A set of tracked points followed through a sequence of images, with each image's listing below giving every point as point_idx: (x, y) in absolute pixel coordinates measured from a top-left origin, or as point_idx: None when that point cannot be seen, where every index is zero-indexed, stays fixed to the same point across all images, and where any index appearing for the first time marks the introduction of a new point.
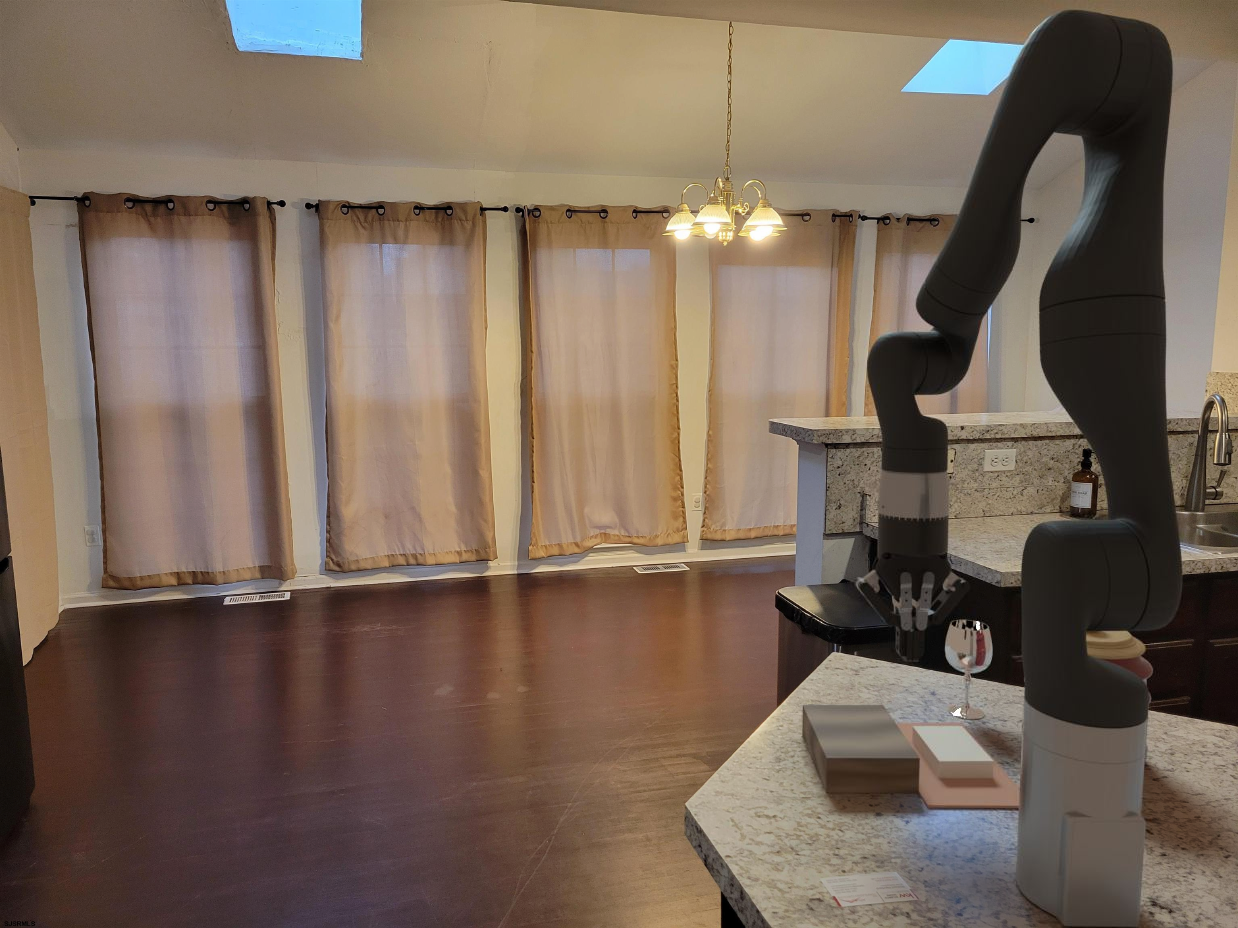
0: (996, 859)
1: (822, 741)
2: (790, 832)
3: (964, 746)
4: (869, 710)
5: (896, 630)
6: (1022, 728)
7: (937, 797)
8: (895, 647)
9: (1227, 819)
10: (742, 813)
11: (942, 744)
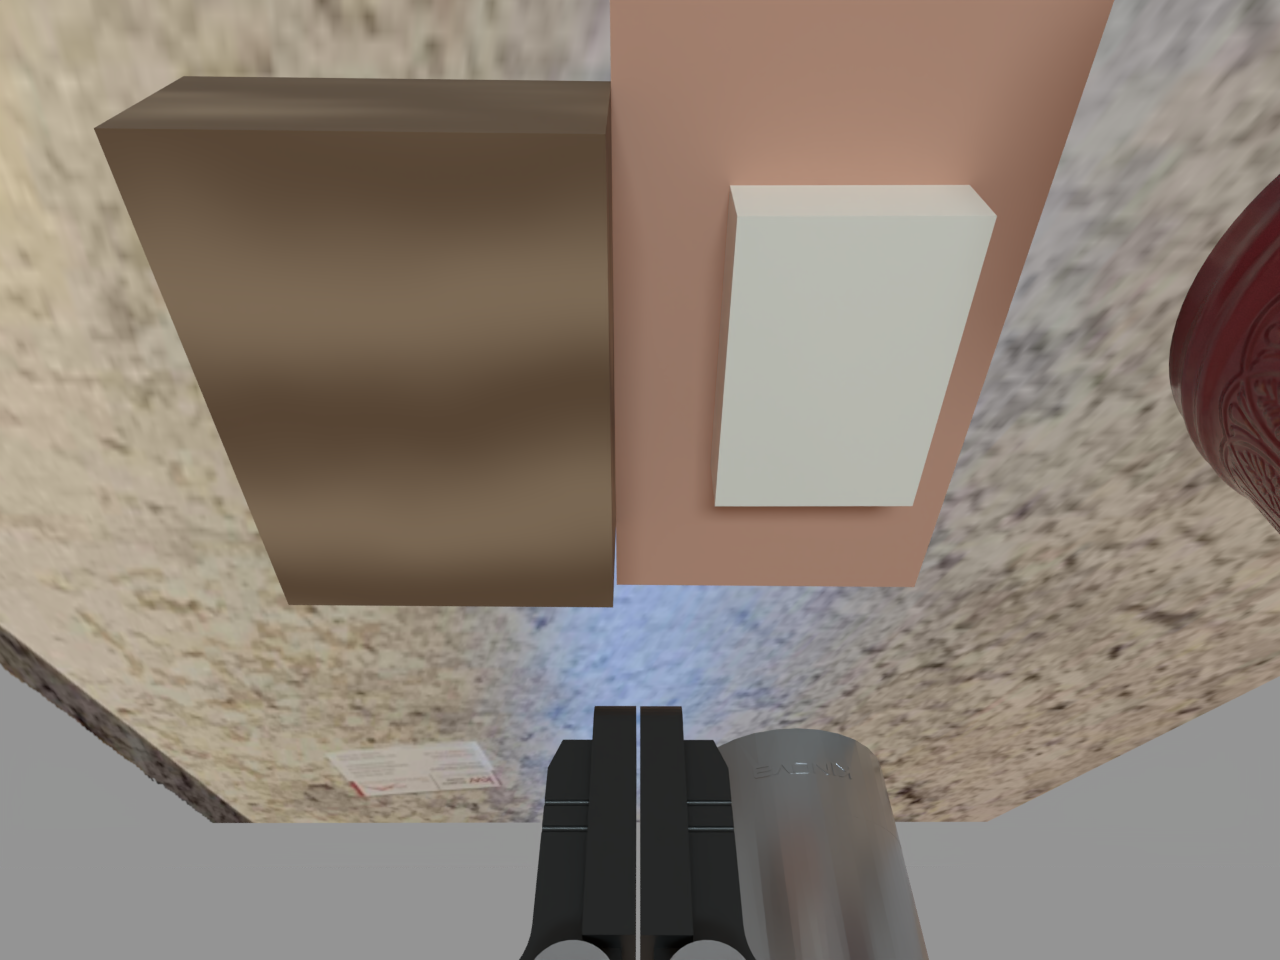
0: (694, 718)
1: (263, 509)
2: (246, 654)
3: (872, 410)
4: (505, 212)
5: (535, 919)
6: (1272, 259)
7: (658, 554)
8: (547, 772)
9: None
10: (102, 596)
11: (790, 394)
